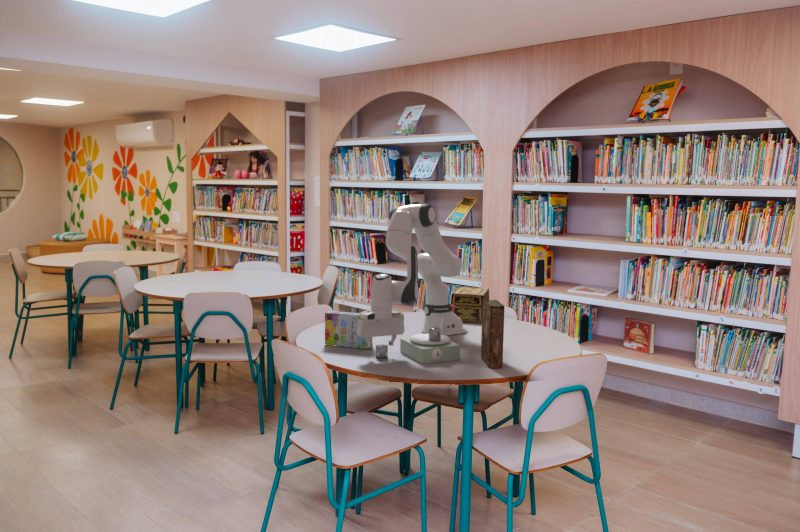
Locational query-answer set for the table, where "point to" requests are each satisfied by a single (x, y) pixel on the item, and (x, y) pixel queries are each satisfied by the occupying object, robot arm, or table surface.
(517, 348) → the table surface
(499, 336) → the book
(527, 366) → the table surface
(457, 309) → the decorative box
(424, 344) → the scale
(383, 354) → the cylinder
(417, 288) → the robot arm
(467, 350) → the table surface
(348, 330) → the snack box
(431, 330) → the spacer
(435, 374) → the table surface
